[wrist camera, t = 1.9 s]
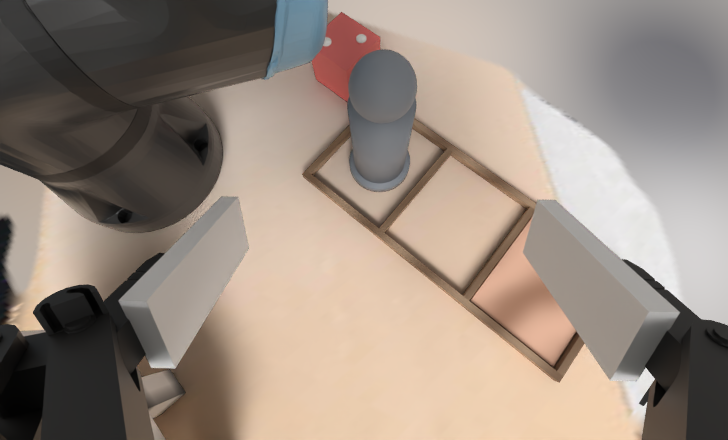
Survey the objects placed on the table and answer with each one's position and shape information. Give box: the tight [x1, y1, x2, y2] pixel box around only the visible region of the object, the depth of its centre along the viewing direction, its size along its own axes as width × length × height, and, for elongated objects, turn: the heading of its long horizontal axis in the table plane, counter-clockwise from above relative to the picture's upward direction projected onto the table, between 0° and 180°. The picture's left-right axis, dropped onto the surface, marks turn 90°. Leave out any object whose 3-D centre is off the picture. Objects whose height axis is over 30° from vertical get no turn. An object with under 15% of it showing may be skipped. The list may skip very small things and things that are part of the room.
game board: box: [302, 119, 584, 382], centre depth 31 cm, size 29×12×1 cm, turn 50°
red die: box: [312, 12, 380, 102], centre depth 34 cm, size 5×5×5 cm
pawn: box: [348, 50, 417, 192], centre depth 27 cm, size 6×6×14 cm
